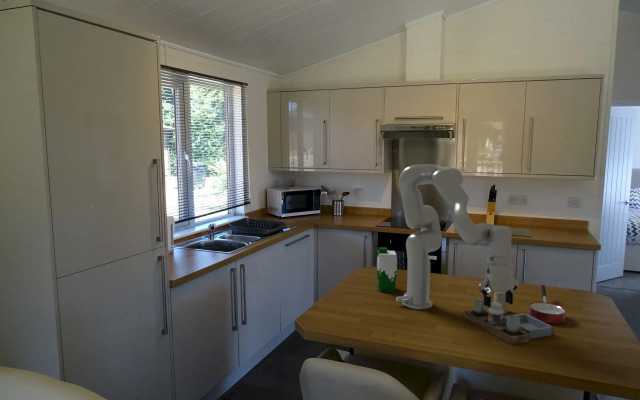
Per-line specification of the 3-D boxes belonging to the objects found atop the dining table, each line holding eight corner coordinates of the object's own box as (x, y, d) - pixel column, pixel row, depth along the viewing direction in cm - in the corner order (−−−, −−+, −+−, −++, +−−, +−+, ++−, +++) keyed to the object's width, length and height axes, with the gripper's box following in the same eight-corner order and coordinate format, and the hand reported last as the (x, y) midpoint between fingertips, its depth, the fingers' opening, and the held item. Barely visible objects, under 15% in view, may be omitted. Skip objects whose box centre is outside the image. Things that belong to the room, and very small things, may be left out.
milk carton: (375, 286, 218) (376, 245, 215) (394, 286, 218) (395, 246, 215) (377, 292, 209) (378, 250, 207) (397, 292, 209) (398, 250, 206)
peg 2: (511, 342, 158) (512, 320, 157) (502, 336, 162) (503, 315, 161) (521, 340, 159) (522, 318, 158) (512, 335, 163) (513, 314, 162)
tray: (528, 338, 160) (529, 330, 160) (501, 323, 174) (502, 316, 173) (553, 335, 164) (553, 327, 163) (524, 320, 177) (525, 313, 177)
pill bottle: (485, 328, 169) (486, 303, 168) (490, 324, 173) (491, 300, 172) (499, 332, 165) (501, 307, 164) (504, 328, 169) (506, 303, 168)
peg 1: (478, 322, 175) (479, 302, 174) (471, 318, 179) (472, 298, 178) (487, 321, 176) (489, 301, 175) (480, 317, 180) (481, 297, 179)
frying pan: (520, 296, 206) (521, 282, 205) (552, 299, 202) (553, 285, 201) (531, 322, 176) (532, 306, 175) (568, 326, 172) (569, 310, 171)
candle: (508, 314, 183) (510, 290, 182) (494, 313, 185) (495, 289, 183) (506, 309, 189) (507, 286, 187) (492, 308, 190) (493, 285, 189)
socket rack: (510, 344, 156) (511, 338, 155) (464, 316, 180) (464, 310, 180) (529, 341, 158) (530, 335, 158) (481, 314, 183) (481, 308, 182)
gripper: (486, 264, 159) (485, 310, 161) (526, 259, 165) (524, 305, 167) (473, 259, 167) (472, 304, 168) (511, 255, 172) (510, 298, 174)
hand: (498, 304), depth 167 cm, fingers open, 9 cm apart
